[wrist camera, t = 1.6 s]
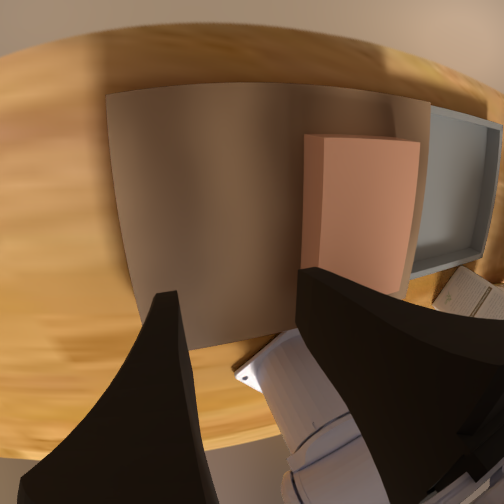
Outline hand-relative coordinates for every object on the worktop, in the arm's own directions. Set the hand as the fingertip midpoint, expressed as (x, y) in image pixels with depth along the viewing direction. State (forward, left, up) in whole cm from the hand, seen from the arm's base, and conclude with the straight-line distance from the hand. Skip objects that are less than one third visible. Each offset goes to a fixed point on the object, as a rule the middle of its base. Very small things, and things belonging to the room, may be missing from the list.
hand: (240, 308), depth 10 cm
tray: (-13, -16, -10) cm, 23 cm away
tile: (-5, -6, -6) cm, 10 cm away
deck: (-3, -4, -10) cm, 12 cm away
